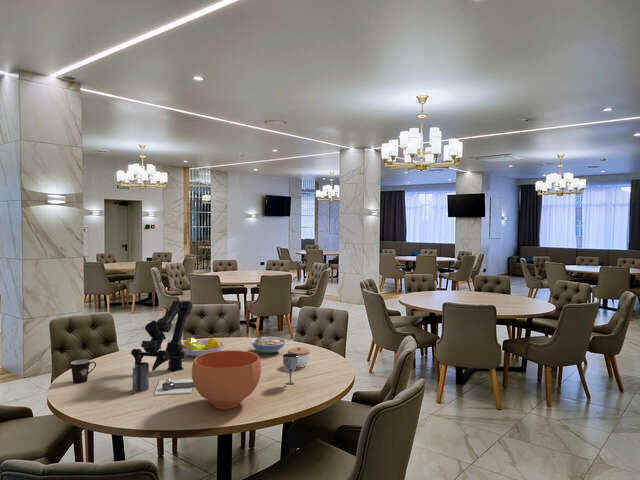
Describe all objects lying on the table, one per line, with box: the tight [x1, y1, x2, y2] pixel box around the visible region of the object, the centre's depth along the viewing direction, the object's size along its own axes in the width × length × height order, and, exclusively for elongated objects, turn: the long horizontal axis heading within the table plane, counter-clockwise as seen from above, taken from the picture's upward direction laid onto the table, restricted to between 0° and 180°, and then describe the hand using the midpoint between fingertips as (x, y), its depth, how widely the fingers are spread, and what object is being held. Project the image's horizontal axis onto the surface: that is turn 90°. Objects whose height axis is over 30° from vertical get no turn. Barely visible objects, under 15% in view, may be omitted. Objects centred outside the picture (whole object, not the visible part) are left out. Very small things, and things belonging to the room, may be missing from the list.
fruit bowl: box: [182, 336, 225, 358], centre depth 285 cm, size 28×27×11 cm
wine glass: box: [282, 352, 298, 385], centre depth 231 cm, size 8×8×15 cm
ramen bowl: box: [250, 334, 287, 354], centre depth 293 cm, size 25×23×8 cm
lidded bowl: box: [287, 346, 311, 368], centre depth 263 cm, size 13×13×11 cm
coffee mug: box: [70, 359, 97, 384], centre depth 233 cm, size 12×9×10 cm
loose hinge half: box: [132, 361, 150, 395], centre depth 219 cm, size 10×6×12 cm, turn 170°
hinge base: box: [153, 377, 195, 396], centre depth 225 cm, size 20×18×6 cm
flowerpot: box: [191, 349, 262, 410], centre depth 204 cm, size 30×30×20 cm
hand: (143, 369), depth 223 cm, fingers open, 9 cm apart
